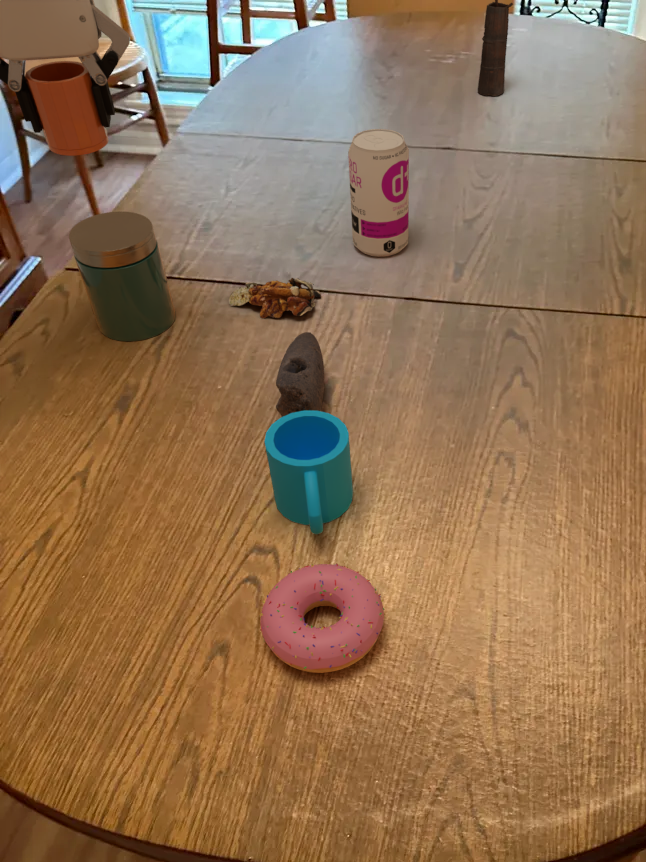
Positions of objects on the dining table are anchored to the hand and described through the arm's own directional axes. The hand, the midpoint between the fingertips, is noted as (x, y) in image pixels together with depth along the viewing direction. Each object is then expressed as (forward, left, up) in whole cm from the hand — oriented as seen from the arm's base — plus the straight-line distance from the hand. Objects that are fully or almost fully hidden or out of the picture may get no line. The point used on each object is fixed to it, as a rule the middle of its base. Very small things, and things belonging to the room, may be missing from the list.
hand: (73, 123), depth 83 cm
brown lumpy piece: (+18, +2, -26) cm, 31 cm away
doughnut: (+18, -52, -26) cm, 60 cm away
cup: (0, 0, -2) cm, 2 cm away
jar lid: (0, +2, -14) cm, 14 cm away
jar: (0, +2, -25) cm, 26 cm away
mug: (+19, -37, -26) cm, 49 cm away
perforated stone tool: (+20, -19, -26) cm, 37 cm away
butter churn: (+68, +70, -26) cm, 101 cm away
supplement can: (+35, +15, -26) cm, 46 cm away
